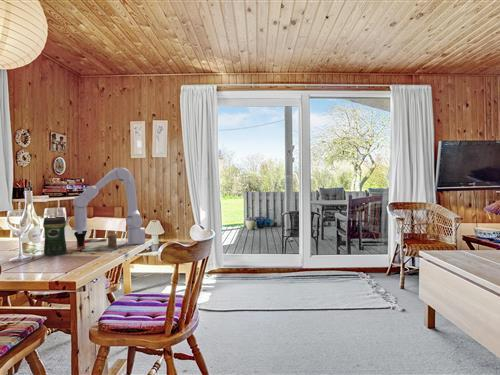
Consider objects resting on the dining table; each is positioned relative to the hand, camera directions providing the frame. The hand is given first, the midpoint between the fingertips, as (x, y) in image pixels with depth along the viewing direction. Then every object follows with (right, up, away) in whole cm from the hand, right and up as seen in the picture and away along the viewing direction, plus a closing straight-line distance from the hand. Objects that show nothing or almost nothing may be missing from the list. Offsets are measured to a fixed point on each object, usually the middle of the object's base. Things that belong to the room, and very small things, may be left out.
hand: (80, 245), depth 176 cm
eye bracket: (+8, -2, +4) cm, 9 cm away
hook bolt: (+5, -1, +2) cm, 5 cm away
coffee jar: (-8, -3, -10) cm, 13 cm away
